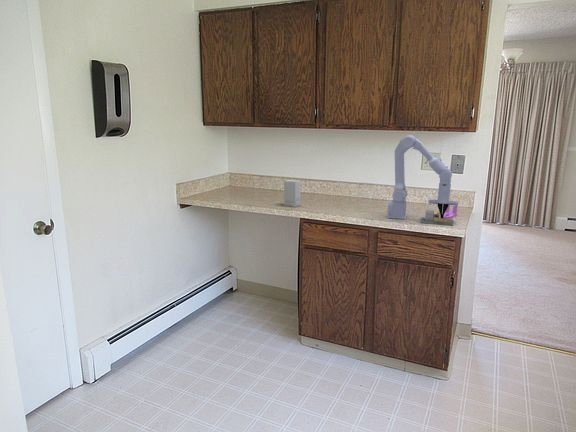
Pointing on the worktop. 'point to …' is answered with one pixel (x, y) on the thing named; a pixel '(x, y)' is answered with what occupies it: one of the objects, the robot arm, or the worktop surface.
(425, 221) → the grey latch board
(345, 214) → the worktop surface
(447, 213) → the bracket
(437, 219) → the keeper bar
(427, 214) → the block
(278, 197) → the worktop surface
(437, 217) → the orange block with stem
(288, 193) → the skincare box
